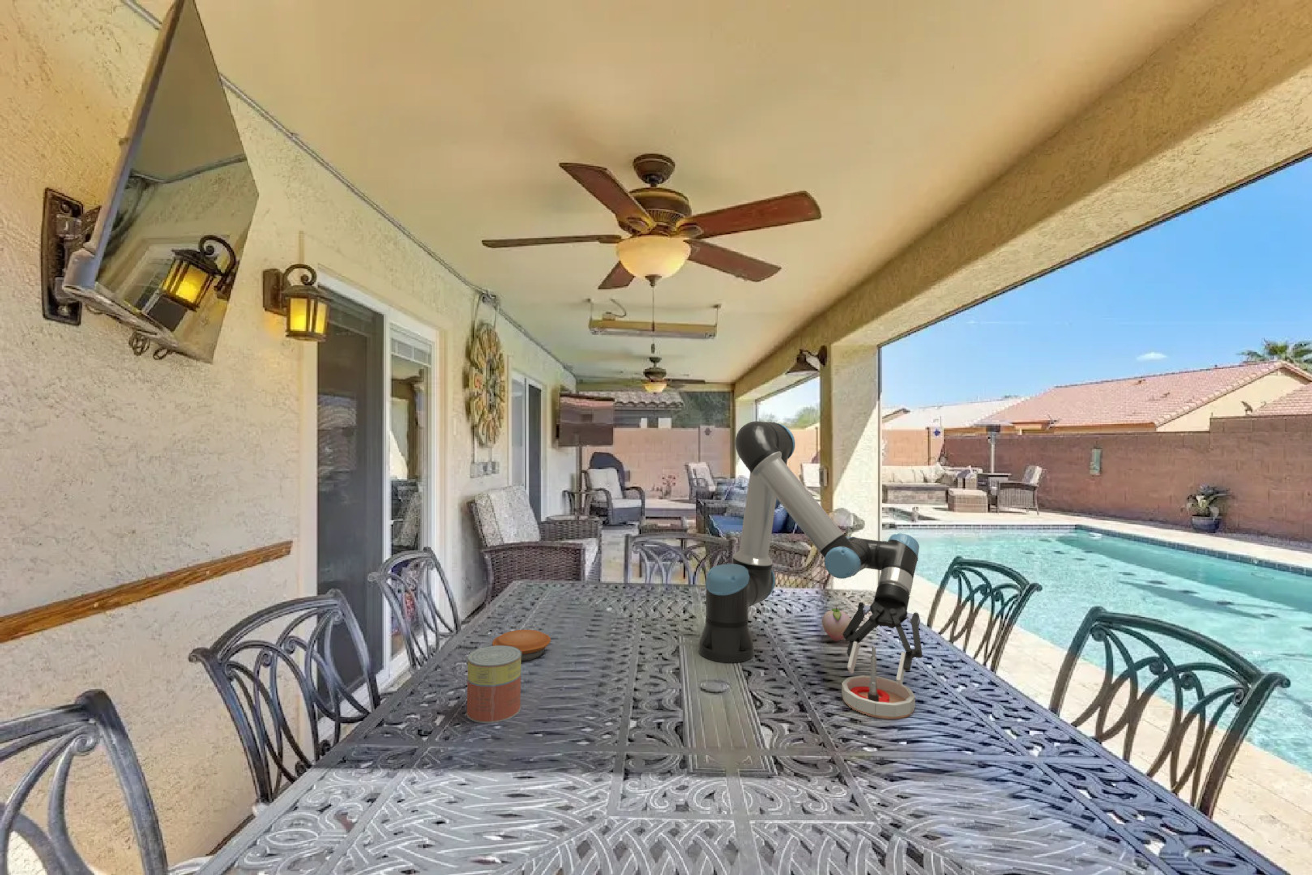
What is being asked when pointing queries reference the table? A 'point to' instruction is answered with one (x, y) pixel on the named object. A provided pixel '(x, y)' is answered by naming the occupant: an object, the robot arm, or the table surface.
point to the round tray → (898, 703)
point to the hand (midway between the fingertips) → (874, 676)
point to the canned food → (493, 684)
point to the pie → (525, 642)
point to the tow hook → (872, 684)
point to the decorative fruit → (835, 623)
